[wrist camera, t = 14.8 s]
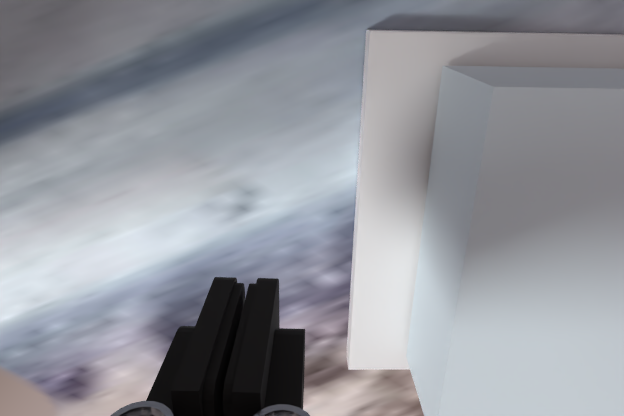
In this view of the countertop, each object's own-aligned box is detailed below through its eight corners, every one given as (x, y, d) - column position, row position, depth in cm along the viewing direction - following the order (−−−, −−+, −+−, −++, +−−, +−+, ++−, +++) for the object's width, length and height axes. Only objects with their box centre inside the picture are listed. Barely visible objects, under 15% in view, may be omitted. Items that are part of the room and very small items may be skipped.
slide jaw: (406, 356, 20) (432, 444, 16) (442, 65, 15) (493, 86, 11) (648, 355, 20) (734, 442, 16) (758, 70, 16) (918, 93, 11)
